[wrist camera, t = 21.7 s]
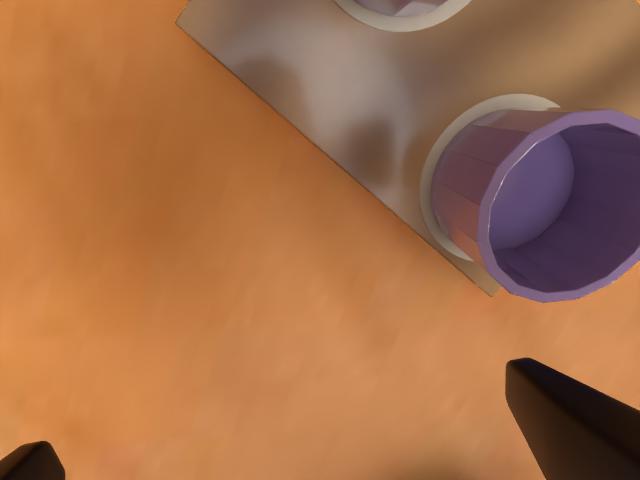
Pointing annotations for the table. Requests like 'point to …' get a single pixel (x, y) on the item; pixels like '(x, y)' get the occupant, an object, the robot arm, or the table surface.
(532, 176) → the dish
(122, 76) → the table surface
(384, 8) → the dish
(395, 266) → the table surface
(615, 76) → the placemat
